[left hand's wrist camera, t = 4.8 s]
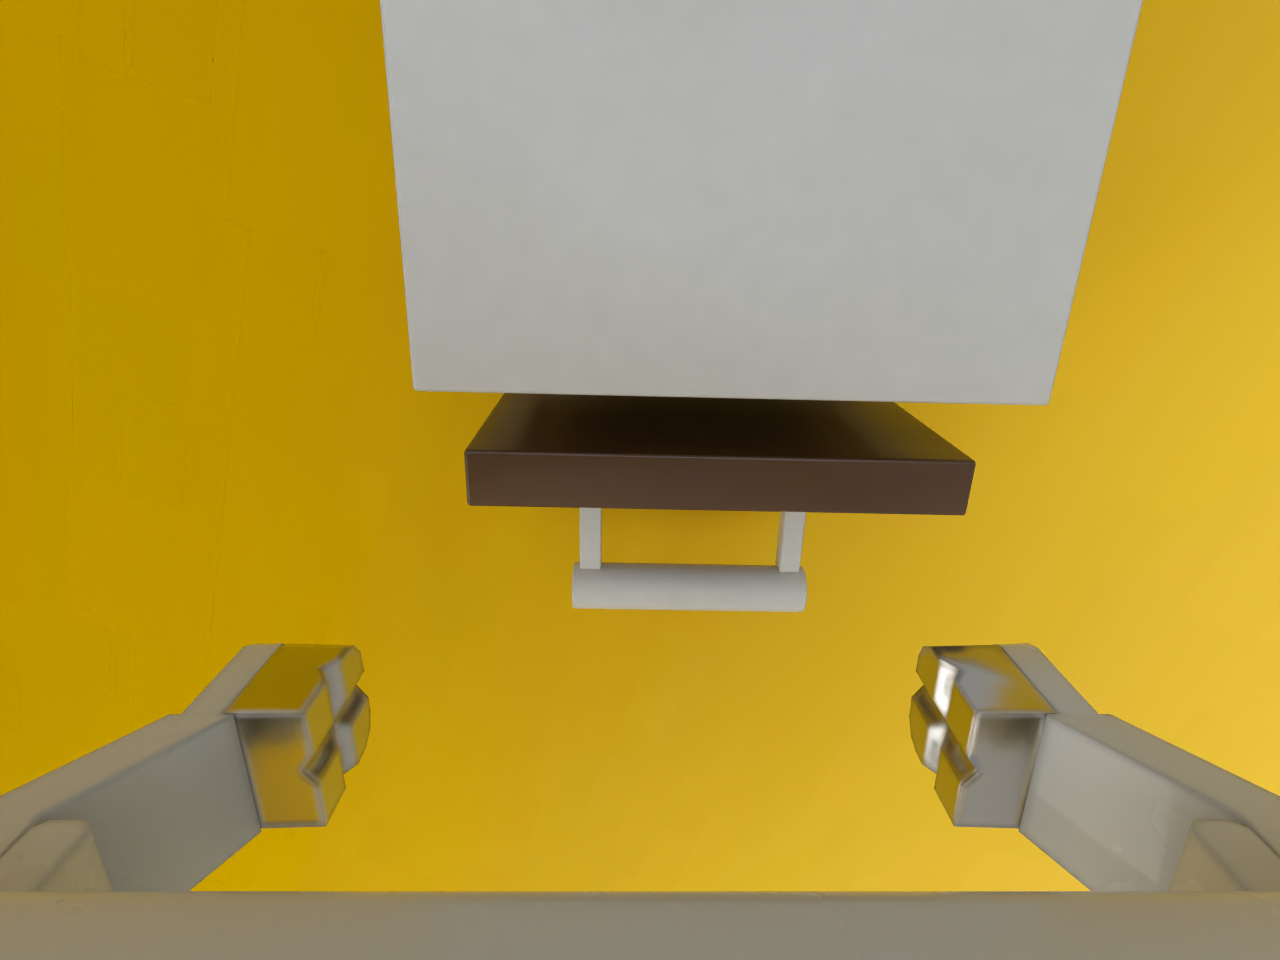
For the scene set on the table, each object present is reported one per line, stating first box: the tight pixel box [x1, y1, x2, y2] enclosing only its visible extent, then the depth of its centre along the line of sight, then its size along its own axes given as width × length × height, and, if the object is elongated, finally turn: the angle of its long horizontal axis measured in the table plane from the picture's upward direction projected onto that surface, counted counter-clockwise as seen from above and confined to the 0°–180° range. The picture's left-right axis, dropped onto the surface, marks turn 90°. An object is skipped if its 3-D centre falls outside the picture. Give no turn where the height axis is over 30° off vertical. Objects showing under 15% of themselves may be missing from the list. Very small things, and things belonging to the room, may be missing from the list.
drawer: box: [464, 393, 975, 612], centre depth 17 cm, size 24×10×10 cm, turn 178°
